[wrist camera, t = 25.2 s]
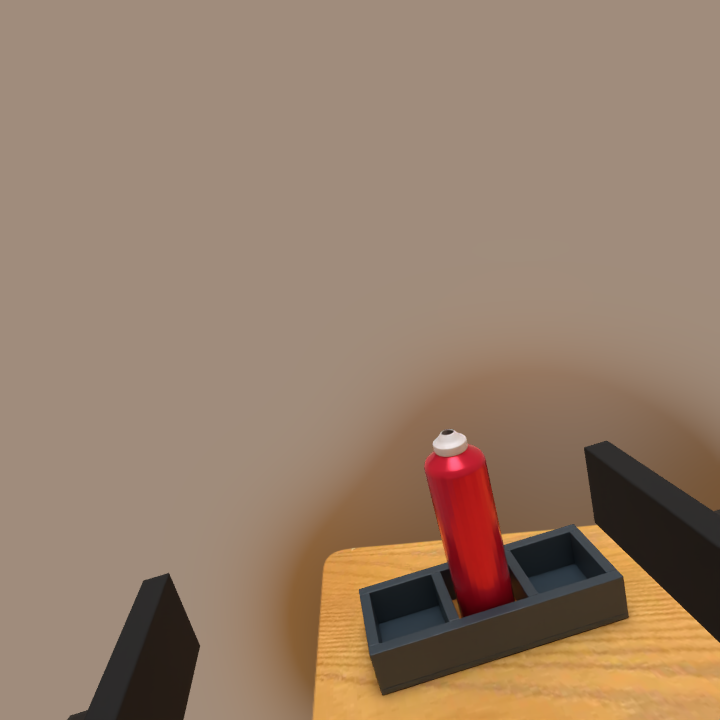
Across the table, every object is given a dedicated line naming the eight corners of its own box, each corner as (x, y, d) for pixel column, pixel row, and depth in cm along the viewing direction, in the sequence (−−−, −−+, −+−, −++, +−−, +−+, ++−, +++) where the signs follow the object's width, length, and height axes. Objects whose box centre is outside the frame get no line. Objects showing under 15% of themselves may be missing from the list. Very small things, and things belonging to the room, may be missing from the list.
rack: (629, 617, 46) (623, 576, 45) (382, 695, 45) (369, 655, 44) (579, 559, 55) (573, 523, 53) (369, 624, 53) (358, 589, 52)
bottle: (519, 637, 46) (477, 443, 41) (459, 637, 48) (412, 450, 43) (516, 593, 51) (479, 414, 46) (462, 594, 53) (421, 422, 48)
